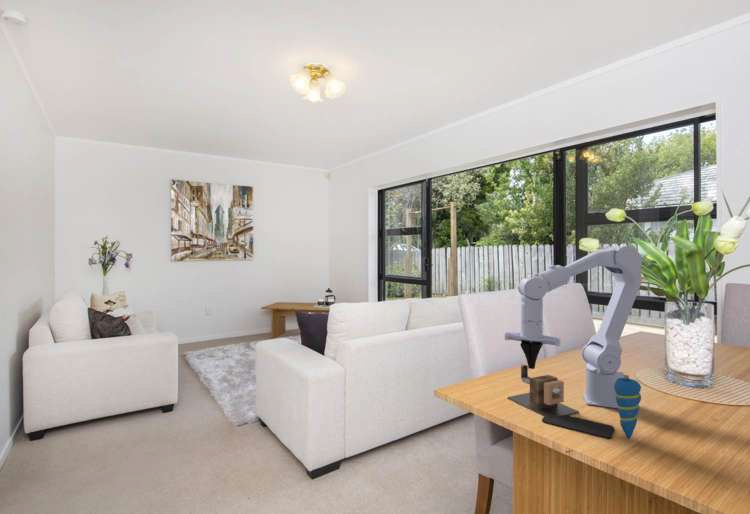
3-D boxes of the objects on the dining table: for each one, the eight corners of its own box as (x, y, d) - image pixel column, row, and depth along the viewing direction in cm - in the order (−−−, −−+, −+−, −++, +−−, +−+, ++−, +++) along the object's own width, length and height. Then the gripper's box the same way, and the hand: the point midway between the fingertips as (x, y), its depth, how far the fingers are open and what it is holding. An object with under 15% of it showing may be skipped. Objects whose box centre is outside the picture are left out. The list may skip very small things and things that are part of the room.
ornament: (645, 445, 85) (646, 377, 85) (619, 443, 86) (620, 375, 86) (634, 434, 90) (635, 369, 90) (610, 432, 91) (610, 368, 91)
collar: (563, 401, 103) (563, 381, 103) (548, 405, 101) (548, 384, 101) (558, 399, 105) (558, 379, 105) (543, 403, 103) (543, 382, 103)
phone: (548, 410, 102) (614, 425, 93) (548, 413, 102) (614, 429, 93) (540, 420, 97) (610, 437, 87) (540, 424, 97) (610, 441, 87)
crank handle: (561, 395, 102) (561, 377, 102) (556, 396, 101) (556, 378, 101) (524, 380, 114) (524, 364, 114) (519, 381, 113) (519, 365, 113)
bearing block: (557, 404, 106) (557, 377, 106) (538, 409, 103) (538, 381, 103) (548, 400, 109) (548, 374, 109) (529, 405, 106) (529, 378, 106)
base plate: (579, 412, 102) (579, 411, 102) (551, 419, 98) (551, 418, 98) (533, 393, 116) (533, 391, 116) (507, 398, 112) (507, 397, 112)
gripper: (562, 320, 109) (561, 368, 109) (509, 315, 117) (509, 360, 117) (558, 324, 103) (558, 375, 103) (502, 319, 111) (502, 366, 111)
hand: (531, 367), depth 110 cm, fingers closed
